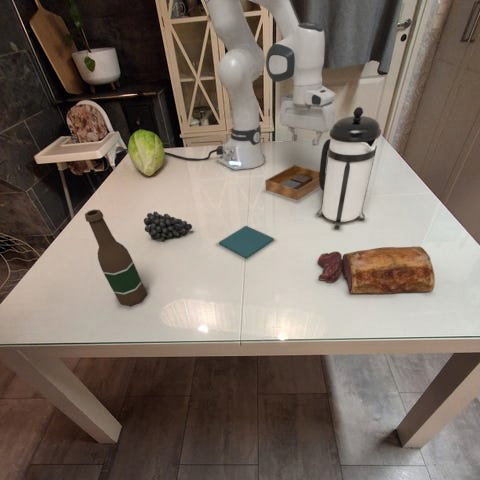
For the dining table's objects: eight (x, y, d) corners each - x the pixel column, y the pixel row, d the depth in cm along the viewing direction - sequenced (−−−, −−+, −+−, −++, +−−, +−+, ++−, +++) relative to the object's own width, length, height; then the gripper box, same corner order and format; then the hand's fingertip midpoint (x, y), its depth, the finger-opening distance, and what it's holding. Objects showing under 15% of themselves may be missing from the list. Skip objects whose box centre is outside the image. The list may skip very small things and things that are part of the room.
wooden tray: (265, 191, 114) (265, 180, 111) (293, 175, 121) (294, 164, 118) (297, 202, 106) (297, 190, 103) (325, 184, 113) (326, 173, 110)
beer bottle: (121, 289, 82) (78, 205, 64) (149, 285, 82) (114, 201, 64) (115, 308, 77) (67, 224, 59) (145, 305, 76) (106, 219, 59)
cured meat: (311, 256, 84) (314, 235, 79) (402, 249, 83) (410, 227, 77) (324, 301, 72) (328, 279, 67) (431, 294, 70) (443, 271, 65)
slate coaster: (278, 190, 112) (278, 185, 111) (288, 184, 115) (288, 179, 113) (290, 194, 109) (291, 189, 107) (301, 188, 112) (301, 183, 110)
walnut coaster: (290, 183, 115) (290, 178, 114) (299, 178, 118) (300, 173, 116) (302, 187, 112) (303, 182, 110) (312, 182, 114) (312, 176, 113)
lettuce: (171, 184, 137) (139, 193, 138) (166, 148, 146) (136, 157, 148) (158, 157, 124) (122, 168, 125) (154, 119, 133) (121, 129, 134)
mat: (219, 244, 92) (218, 242, 92) (246, 227, 97) (246, 225, 97) (246, 258, 86) (246, 256, 85) (273, 240, 91) (273, 238, 91)
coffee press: (368, 208, 99) (395, 98, 77) (359, 233, 90) (387, 116, 68) (316, 201, 105) (327, 98, 83) (303, 224, 96) (312, 115, 73)
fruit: (189, 204, 92) (141, 207, 93) (188, 225, 89) (138, 228, 89) (194, 223, 100) (150, 226, 101) (193, 243, 97) (148, 246, 97)
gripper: (275, 94, 98) (276, 141, 109) (328, 99, 88) (323, 150, 98) (287, 90, 101) (287, 135, 111) (340, 94, 90) (334, 144, 100)
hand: (304, 142), depth 104 cm, fingers open, 8 cm apart
